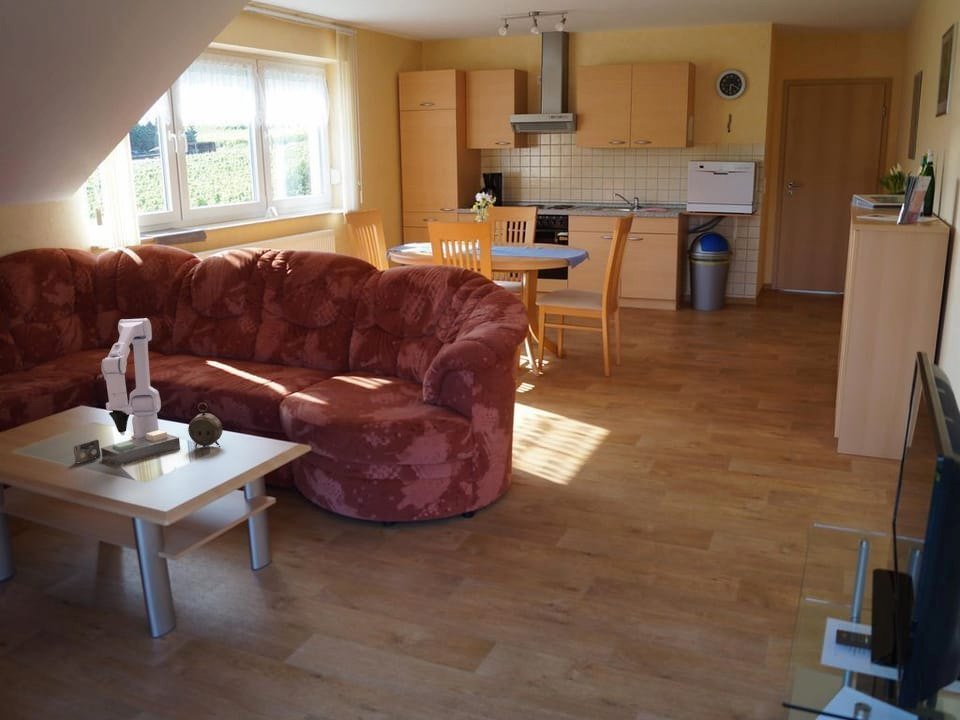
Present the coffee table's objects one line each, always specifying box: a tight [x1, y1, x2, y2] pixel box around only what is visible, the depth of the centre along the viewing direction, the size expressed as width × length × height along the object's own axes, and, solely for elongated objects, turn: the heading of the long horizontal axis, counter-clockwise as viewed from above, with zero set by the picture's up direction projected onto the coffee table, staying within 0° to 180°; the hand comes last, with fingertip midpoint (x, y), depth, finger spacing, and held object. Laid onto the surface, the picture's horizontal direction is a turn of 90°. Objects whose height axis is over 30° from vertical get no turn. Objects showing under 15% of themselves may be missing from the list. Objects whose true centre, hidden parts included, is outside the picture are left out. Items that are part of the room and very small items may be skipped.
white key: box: [146, 429, 168, 442], centre depth 300 cm, size 5×5×4 cm
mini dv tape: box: [73, 439, 102, 463], centre depth 292 cm, size 8×2×6 cm, turn 144°
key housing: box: [100, 433, 181, 467], centre depth 296 cm, size 12×22×4 cm, turn 140°
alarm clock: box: [187, 402, 223, 450], centre depth 299 cm, size 11×5×16 cm, turn 84°
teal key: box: [112, 440, 135, 451], centre depth 292 cm, size 5×5×4 cm
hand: (122, 431), depth 291 cm, fingers closed
